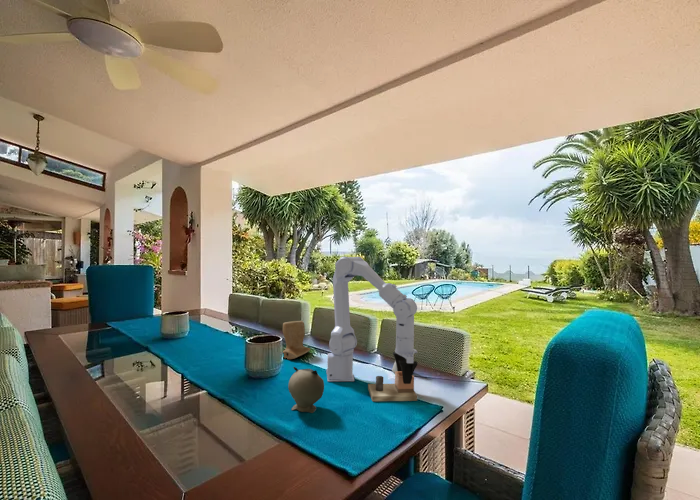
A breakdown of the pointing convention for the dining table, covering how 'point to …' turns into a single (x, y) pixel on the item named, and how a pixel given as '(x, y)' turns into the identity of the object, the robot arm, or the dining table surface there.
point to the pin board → (388, 392)
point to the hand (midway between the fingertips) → (404, 378)
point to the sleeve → (401, 386)
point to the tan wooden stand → (294, 339)
